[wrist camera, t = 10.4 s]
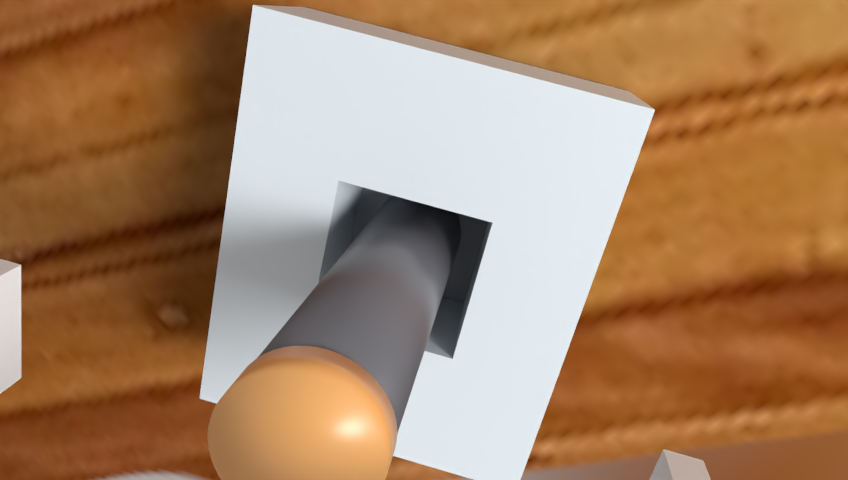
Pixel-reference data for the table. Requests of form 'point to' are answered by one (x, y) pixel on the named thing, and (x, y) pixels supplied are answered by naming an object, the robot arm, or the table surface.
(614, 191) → the socket block
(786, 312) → the table surface
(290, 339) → the marker
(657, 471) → the robot arm
